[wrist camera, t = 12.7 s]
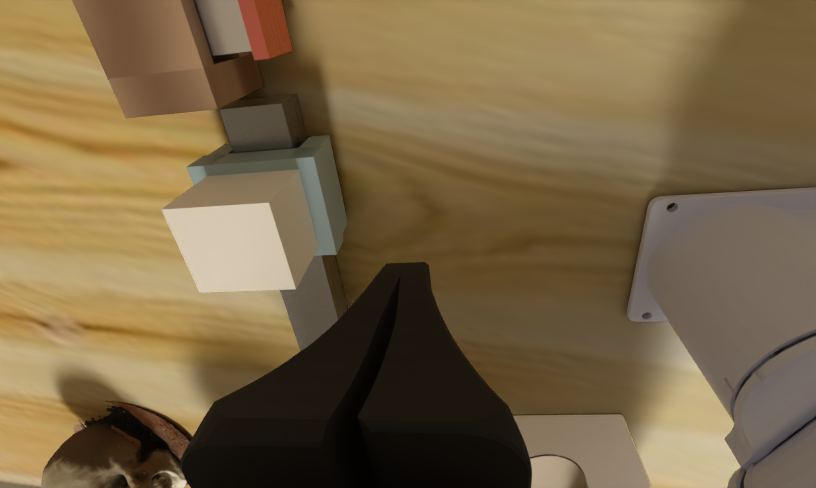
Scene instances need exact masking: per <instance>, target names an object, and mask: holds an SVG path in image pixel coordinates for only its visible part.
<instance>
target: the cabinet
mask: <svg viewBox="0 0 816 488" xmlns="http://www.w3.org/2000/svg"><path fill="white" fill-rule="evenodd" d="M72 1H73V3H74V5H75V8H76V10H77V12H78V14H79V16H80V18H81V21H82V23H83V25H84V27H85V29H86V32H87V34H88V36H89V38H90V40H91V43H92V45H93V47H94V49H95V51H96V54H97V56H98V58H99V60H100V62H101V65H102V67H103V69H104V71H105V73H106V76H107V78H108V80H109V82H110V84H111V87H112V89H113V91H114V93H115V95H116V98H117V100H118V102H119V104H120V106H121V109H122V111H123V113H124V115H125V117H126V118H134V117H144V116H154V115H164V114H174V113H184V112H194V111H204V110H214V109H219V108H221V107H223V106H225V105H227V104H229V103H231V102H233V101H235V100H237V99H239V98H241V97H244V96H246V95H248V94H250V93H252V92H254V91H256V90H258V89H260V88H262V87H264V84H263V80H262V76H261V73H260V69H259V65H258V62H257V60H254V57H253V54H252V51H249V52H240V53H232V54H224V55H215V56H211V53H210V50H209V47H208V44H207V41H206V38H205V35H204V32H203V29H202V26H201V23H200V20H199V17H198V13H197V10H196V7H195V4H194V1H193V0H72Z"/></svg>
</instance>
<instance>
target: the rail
mask: <svg viewBox="0 0 816 488" xmlns="http://www.w3.org/2000/svg"><path fill="white" fill-rule="evenodd" d="M219 111H220V114H221V117H222V120H223V123H224V126H225V129H226V132H227V135H228V138H229V141H230V144H231V147H232V149H233V152H234V153H245V152H257V151H269V150H281V149H293V148H299V147H300V146H301V145H302V144H303V143H304V142H305V141H306V140H307V136H306V132H305V128H304V124H303V120H302V116H301V111H300V107H299V103H298V99H297V95H296V94H293V95H283V96H273V97H263V98H254V99H244V100H238V101H236V102H234V103H232V104H230V105H228V106H226V107H224V108H222V109H220V110H219ZM280 291H281V294H282V297H283V300H284V303H285V306H286V309H287V312H288V315H289V318H290V321H291V324H292V327H293V330H294V333H295V336H296V338H297V341H298V344H299V347H300V350H301V351H302V350H303V349H305V348H306V347H307V346H309V345H310V344H312V343H313V342H314V341H315V340H316V339H318V338H319V337H320V336H321V335H322V334H324V333H325V332H326V331H327V330H328V329H329V328H330V327H331V326H332V325H333V324H335V323H336V322H337V321H338V320H339V318H340V317H341V316H342V315H343V314H344V313H345V312H346V311H347V310H348V307H347V302H346V298H345V294H344V290H343V286H342V282H341V277H340V273H339V269H338V265H337V261H336V257H335V255H319V256H314V257H313V259H312V261H311V263H310V264H309V266H308V268H307V270H306V272H305V274H304V276H303V277H302V279H301V281H300V283H299V285H298V287H297V289H290V290H280Z"/></svg>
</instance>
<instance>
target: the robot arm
mask: <svg viewBox="0 0 816 488" xmlns="http://www.w3.org/2000/svg"><path fill="white" fill-rule="evenodd" d="M671 203H675V204H674V206H673V207H672V208H670V209H667V206H668V205H669V204H671ZM647 312H648V313H647ZM644 313H647V314H646V315H643V314H644ZM627 316H628V318H629V320H631V321H632V322H666V321H669V323H670V324H671V326H672V327H673V329H674V330H675V332H676V334H677V335H678V337H679V338H680V340H681V341H682V343H683V344H684V346H685V348H686V349H687V351H688V352H689V354H690V355H691V357H692V358H693V360H694V361H695V363H696V365H697V366H698V368H699V369H700V371H701V372H702V374H703V375H704V377H705V378H706V380H707V382H708V383H709V385H710V386H711V388H712V389H713V391H714V392H715V394H716V395H717V397H718V399H719V400H720V402H721V403H722V405H723V406H724V408H725V409H726V411H727V412H728V414H729V416H730V417H731V419H732V420H733V422H734V427H733V429H732V431H731V432H730V433H729V434H728V435H727V436H726V437H725V441H726V442H727V444H728V446H729V447H730V449H731V451H732V452H733V454H734V456H735V457H736V459H737V461H738V462H739V464H740V466H741V468H739V469H738V470H737V471H735V472H734V474H733V475H732V477H731V478H730V480H729V483H728V487H727V488H816V187H811V188H793V189H776V190H759V191H742V192H724V193H707V194H690V195H673V196H659V197H656V198H654V199H652V200H651V201H650V202H649V205H648V208H647V213H646V218H645V223H644V228H643V233H642V238H641V243H640V248H639V253H638V258H637V263H636V268H635V273H634V278H633V283H632V288H631V293H630V298H629V303H628V308H627ZM181 470H182V473H183V475H184V477H185V479H186V481H187V483H188V484H189V485H190V487H191V488H531V483H532V466H531V461H530V457H529V454H528V450H527V447H526V444H525V442H524V439H523V437H522V434H521V432H520V430H519V428H518V425H517V423H516V421H515V419H514V417H513V415H512V413H511V411H510V409H509V407H508V405H507V404H506V403H505V402H504V401H503V400H502V399H501V398H500V397H499V396H498V395H497V394H496V393H495V392H494V391H493V390H492V389H491V388H490V387H489V386H488V385H487V383H486V382H485V381H484V380H483V379H482V378H481V377H480V375H479V374H478V373H477V372H476V370H475V369H474V368H473V366H472V365H471V364H470V362H469V361H468V360H467V358H466V357H465V356H464V354H463V353H462V351H461V350H460V348H459V347H458V345H457V344H456V342H455V340H454V339H453V337H452V335H451V334H450V332H449V330H448V328H447V326H446V324H445V322H444V320H443V318H442V316H441V314H440V312H439V309H438V307H437V304H436V301H435V299H434V296H433V293H432V290H431V280H430V271H429V265H428V264H427V263H425V262H417V263H392V264H386V265H385V266H384V267H383V268H382V269H381V271H380V272H379V273H378V274H377V276H376V277H375V278H374V280H373V281H372V282H371V283H370V285H369V286H368V287H367V288H366V290H365V291H364V292H363V293H362V294H361V295H360V297H359V298H358V299H357V300H356V301H355V303H354V304H353V305H352V306H351V307H350V308H349V309H348V310H347V311H346V312H345V313H344V314H343V315H342V316H341V317H340V318H339V320H338V321H337V322H336V323H335V324H333V325H332V326H331V327H330V328H329V329H328V330H327V331H326V332H325V333H324V334H322V335H321V336H320V337H319V338H318V339H316V340H315V341H314V342H313V343H312V344H310V345H309V346H307V347H306V348H305V349H303V350H302V351H301V352H299V353H298V354H297V355H295V356H294V357H292V358H291V359H290V360H288V361H287V362H285V363H284V364H282V365H281V366H279V367H278V368H276V369H274V370H273V371H271V372H270V373H268V374H266V375H264V376H263V377H261V378H259V379H258V380H256V381H254V382H252V383H251V384H249V385H247V386H245V387H243V388H241V389H239V390H237V391H235V392H233V393H231V394H229V395H227V396H225V397H223V398H221V399H219V400H217V401H215V402H214V403H213V405H212V406H211V408H210V409H209V411H208V412H207V414H206V416H205V417H204V419H203V420H202V422H201V424H200V426H199V427H198V429H197V431H196V433H195V434H194V436H193V438H192V439H191V441H190V443H189V445H188V446H187V448H186V450H185V452H184V453H183V455H182V457H181Z"/></svg>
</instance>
